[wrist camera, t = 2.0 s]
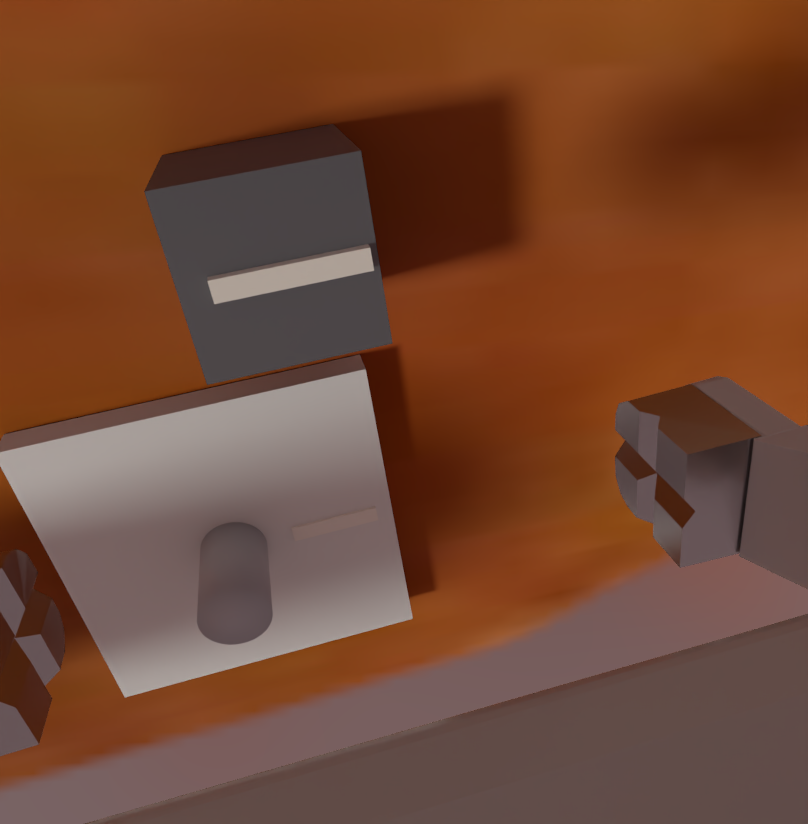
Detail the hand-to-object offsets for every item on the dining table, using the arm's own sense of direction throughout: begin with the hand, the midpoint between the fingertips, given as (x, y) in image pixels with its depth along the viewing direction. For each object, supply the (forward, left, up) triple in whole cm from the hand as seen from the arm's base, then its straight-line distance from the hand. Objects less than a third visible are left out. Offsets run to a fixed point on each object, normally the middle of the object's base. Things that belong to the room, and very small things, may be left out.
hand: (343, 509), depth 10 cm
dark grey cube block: (0, 0, -14) cm, 14 cm away
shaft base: (+11, -4, -14) cm, 18 cm away
